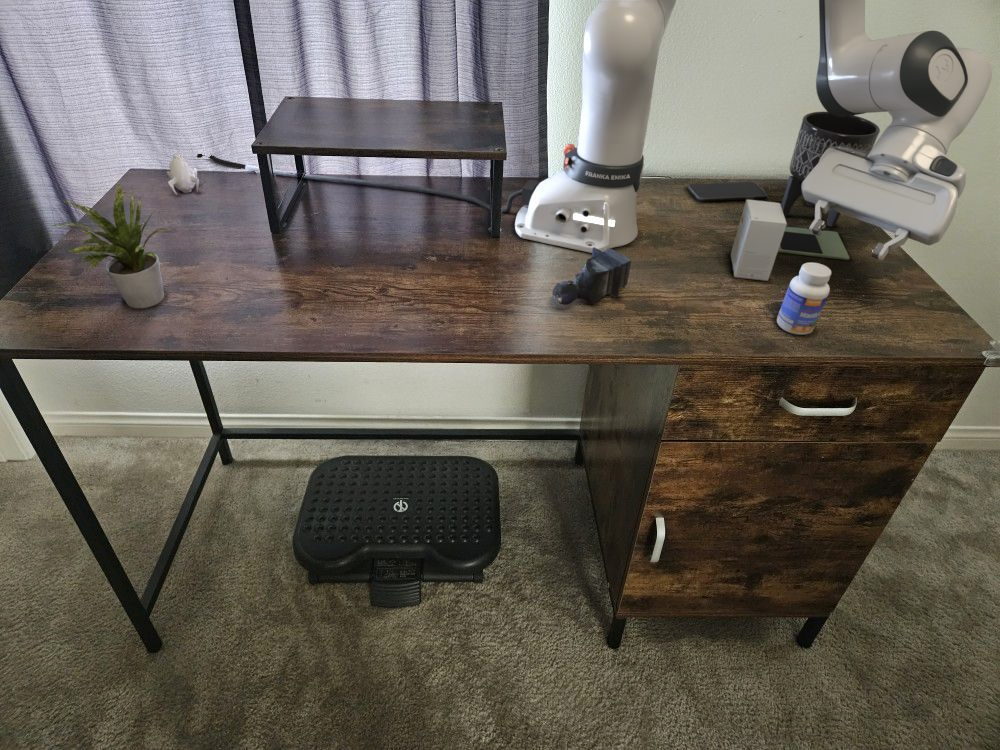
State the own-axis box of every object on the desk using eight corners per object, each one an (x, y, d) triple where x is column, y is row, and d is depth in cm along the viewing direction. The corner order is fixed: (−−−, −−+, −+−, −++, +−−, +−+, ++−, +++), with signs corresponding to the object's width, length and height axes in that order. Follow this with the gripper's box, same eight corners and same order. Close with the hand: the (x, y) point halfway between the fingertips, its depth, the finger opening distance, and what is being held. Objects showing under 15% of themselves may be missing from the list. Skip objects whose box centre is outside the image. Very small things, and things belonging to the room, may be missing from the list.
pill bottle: (795, 339, 95) (818, 282, 88) (768, 320, 98) (788, 264, 92) (821, 330, 97) (845, 274, 90) (793, 311, 100) (815, 256, 94)
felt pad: (766, 251, 115) (767, 248, 115) (759, 225, 123) (760, 222, 122) (849, 260, 113) (850, 257, 113) (836, 233, 121) (837, 231, 121)
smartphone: (686, 183, 134) (754, 180, 136) (685, 188, 135) (753, 184, 137) (699, 199, 129) (770, 195, 130) (698, 203, 129) (769, 199, 131)
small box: (767, 282, 107) (788, 224, 100) (733, 278, 108) (750, 219, 101) (762, 258, 113) (781, 202, 106) (729, 254, 114) (746, 198, 107)
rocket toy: (171, 187, 127) (159, 147, 122) (201, 183, 129) (189, 144, 124) (172, 198, 123) (159, 157, 118) (203, 194, 125) (191, 154, 120)
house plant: (93, 279, 101) (50, 179, 91) (188, 264, 105) (157, 167, 95) (86, 330, 91) (37, 224, 81) (192, 311, 95) (157, 208, 85)
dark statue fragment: (541, 302, 100) (545, 266, 96) (600, 276, 107) (606, 240, 103) (571, 322, 96) (575, 285, 92) (630, 293, 103) (637, 257, 99)
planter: (856, 220, 126) (895, 128, 114) (816, 236, 120) (853, 141, 109) (799, 195, 134) (830, 107, 122) (759, 209, 128) (788, 118, 116)
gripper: (830, 129, 96) (776, 209, 97) (979, 173, 85) (915, 263, 86) (833, 152, 101) (782, 227, 102) (974, 197, 90) (914, 281, 91)
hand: (844, 244), depth 94 cm, fingers open, 8 cm apart
